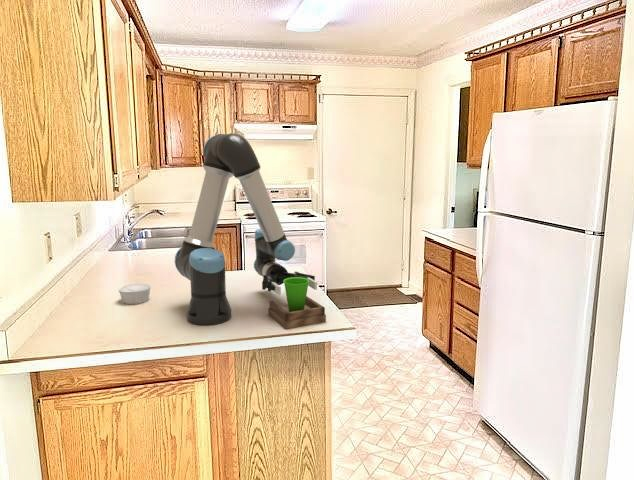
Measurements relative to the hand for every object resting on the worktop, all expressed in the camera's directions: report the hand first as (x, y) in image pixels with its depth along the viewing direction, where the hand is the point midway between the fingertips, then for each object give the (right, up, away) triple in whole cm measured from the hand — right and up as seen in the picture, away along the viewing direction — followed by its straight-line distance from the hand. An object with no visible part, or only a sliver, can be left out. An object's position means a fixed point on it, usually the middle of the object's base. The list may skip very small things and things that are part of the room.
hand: (298, 288), depth 159 cm
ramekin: (-63, -7, +20) cm, 67 cm away
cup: (-1, -8, +2) cm, 9 cm away
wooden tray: (-1, -11, +3) cm, 11 cm away
